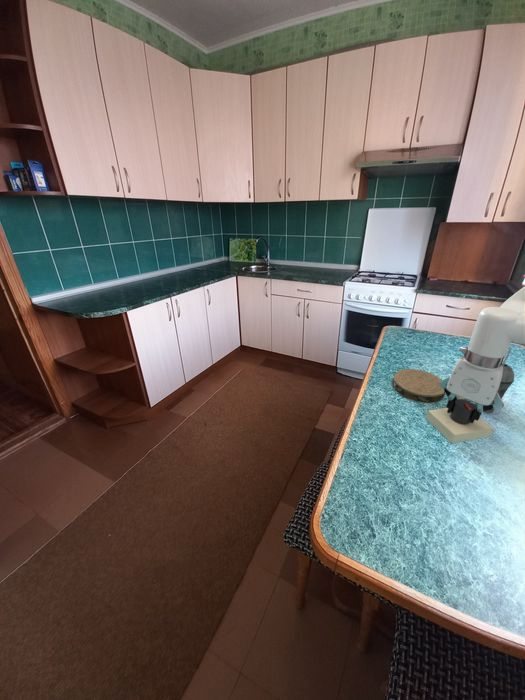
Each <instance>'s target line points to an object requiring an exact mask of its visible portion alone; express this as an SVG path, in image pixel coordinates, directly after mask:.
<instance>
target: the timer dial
mask: <svg viewBox="0 0 525 700" xmlns="http://www.w3.org/2000/svg"><path fill="white" fill-rule="evenodd" d="M476 408H477V407H476V404H475V403H474V402H473V401H471V400H468V399H457V400H456V401H455V403H454V406H453V408H452V411H451V414H450V418H451V419H452V420H453V421H455V422H456V423H459V424H463V425H467V424H469V423H470V420H471V417H472V415H473V412H474V410H475V409H476Z"/></svg>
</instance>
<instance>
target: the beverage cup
mask: <svg viewBox="0 0 525 700" xmlns="http://www.w3.org/2000/svg"><path fill="white" fill-rule="evenodd" d="M511 352H512V349H511V348H508V350H507V352H506V355H505V357H504V360H503V362H502V364H501V365H502V366H503V375H502V379H501V383H500V386H499V389H498V394H499V395H500V397H501V399H502V400H503V397H505V396H504V395H505V394H506V393H507V391H508V389H509V388H510V387H511V386H512V385H513V383H514V382H515V371H514V370H513V368H512V367H511V366H510V365H508V364H506V363H507V360H508V358H509V356H510V354H511ZM492 403H495V402H494V400H493V401H492ZM475 406H476V408H477V403H476V402H475ZM495 410H496V409H492V410H488V411H483V412H482V413H486V414H492V413H494V411H495Z"/></svg>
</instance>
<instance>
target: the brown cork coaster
mask: <svg viewBox="0 0 525 700" xmlns="http://www.w3.org/2000/svg"><path fill="white" fill-rule="evenodd" d="M442 380H443V379H442V378H440V377H439V376H438V375H436V374H434V373H430V372H428V371H425V370H421V369H415V368H404V369H400V370H397V371H396V372H395V373H394V374H393V378H392V383H391V384H392V388H393V390H394V391H395V392H396V393H397V394H398V395H400V396H402V397H403V398H405V399H407V400H411V401H414V402H416V403H417V402H418V403H425V404H434V403H439V402H441V401H442V400H444V398H445V395H446V393H445V392H444V389H442V387H441V386H440V385H439V382H440V381H442Z"/></svg>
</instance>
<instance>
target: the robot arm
mask: <svg viewBox="0 0 525 700" xmlns="http://www.w3.org/2000/svg"><path fill="white" fill-rule="evenodd" d="M512 343H515V344H521V345H525V286H523V287H522V288H520V289H519V290H517V291H516V292H515V293H513V295H510V297H508V299H506V300H505V301H504V302H503V303H502V304H501V305H500V306H488V307H487V306H486V307H485V308H482V309H481V310H480V312H479V314H478V316H477V318H476V321H475V325H474V327H473V330H472V332H471V336H470V339H469V342H468V345H467V346H460V347H459V350H458V351H459V352H460V353H462V354H463V355H461V356H460V357H459V358H458V360H457V361H456V363H455V365H454V367H453V369H452V371H451V374H450V376H447V377H446V378H445V379H442V381H440V382H439V385H440V386H441V387H442V389H444V392H445V395H446V396H447V404H446V406H445V408H448V411H447V413H451V411H452V408H453V406H454V403H455V401H456V400H457V397H456V395H458V396H461V397H463V398H466V399H465V400H468V401H470V402H472V403H475V404H476V403H477V407H476V409H475V410H474V412H473V415H472V417H471V420H470V423H473V422H474V421H475V420H477V421H478V420H479V418H481V415H482V413H484V412H483V411H488V410H492V409H495V410H498V409H499V410H500V409H503V408H504V406H505V403H504V401H503V398H502V399H501V397H500V395H499V394H498V389H499V386H500V383H501V379H502V375H503V366H502V365H501V364H502V363H503V361H504V359H505V357H506V355H507V352H508V350H509V349H510V348H509V347H510V345H511V344H512ZM493 400H494V402H495V403H492V401H493Z"/></svg>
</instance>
